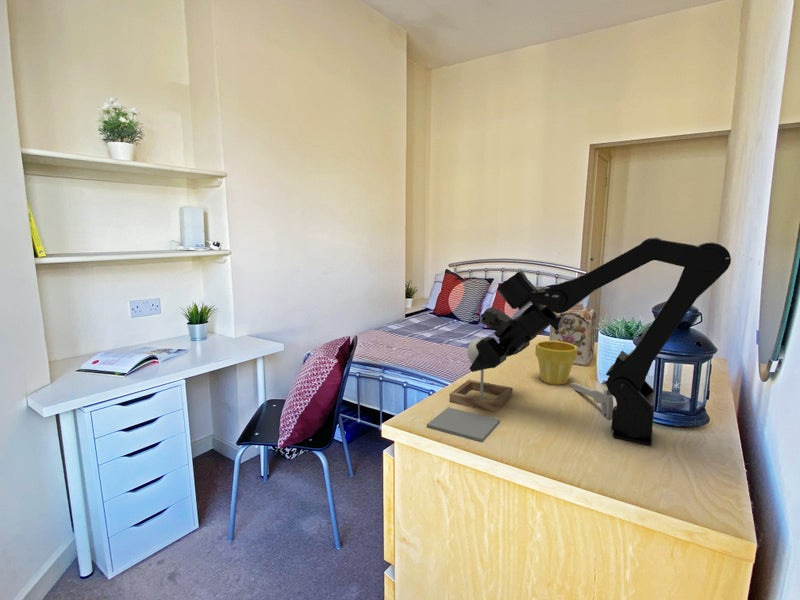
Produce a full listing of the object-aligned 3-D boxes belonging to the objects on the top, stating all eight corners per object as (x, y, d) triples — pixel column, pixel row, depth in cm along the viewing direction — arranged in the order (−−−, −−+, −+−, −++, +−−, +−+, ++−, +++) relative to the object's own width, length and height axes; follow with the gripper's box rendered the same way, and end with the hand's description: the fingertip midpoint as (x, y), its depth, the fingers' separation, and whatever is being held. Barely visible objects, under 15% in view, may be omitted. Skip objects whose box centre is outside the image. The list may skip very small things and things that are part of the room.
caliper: (612, 420, 89) (614, 392, 88) (607, 420, 89) (609, 392, 88) (572, 386, 109) (574, 362, 108) (568, 386, 109) (570, 362, 108)
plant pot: (581, 380, 113) (583, 344, 112) (565, 390, 106) (567, 352, 104) (544, 371, 120) (546, 338, 119) (527, 380, 113) (528, 345, 111)
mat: (499, 422, 88) (500, 419, 88) (482, 442, 80) (482, 439, 80) (448, 409, 95) (448, 407, 94) (426, 427, 86) (426, 424, 86)
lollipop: (497, 394, 103) (499, 335, 101) (495, 406, 96) (497, 342, 94) (468, 391, 105) (469, 333, 103) (464, 402, 98) (466, 340, 96)
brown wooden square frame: (512, 395, 103) (512, 387, 102) (496, 412, 93) (496, 403, 93) (468, 386, 109) (468, 379, 108) (449, 401, 99) (449, 393, 99)
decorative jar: (594, 357, 134) (598, 301, 131) (588, 367, 124) (592, 306, 121) (555, 351, 140) (558, 298, 137) (546, 360, 130) (549, 303, 128)
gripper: (519, 292, 102) (476, 330, 110) (485, 303, 87) (439, 346, 95) (550, 328, 98) (503, 365, 106) (521, 346, 83) (469, 387, 92)
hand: (479, 364), depth 100 cm, fingers open, 9 cm apart
